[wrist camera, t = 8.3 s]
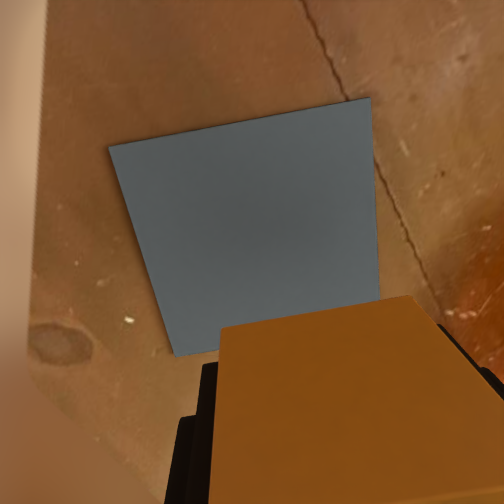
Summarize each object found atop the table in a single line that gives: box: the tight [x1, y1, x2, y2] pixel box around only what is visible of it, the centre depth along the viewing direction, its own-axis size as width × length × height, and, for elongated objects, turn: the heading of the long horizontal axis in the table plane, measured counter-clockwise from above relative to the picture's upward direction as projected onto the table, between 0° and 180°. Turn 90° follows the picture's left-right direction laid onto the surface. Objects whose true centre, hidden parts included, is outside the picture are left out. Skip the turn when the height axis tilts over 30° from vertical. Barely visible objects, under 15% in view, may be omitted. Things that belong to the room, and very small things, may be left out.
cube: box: [208, 295, 504, 504], centre depth 8 cm, size 5×5×5 cm
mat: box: [108, 97, 380, 357], centre depth 25 cm, size 16×16×1 cm
